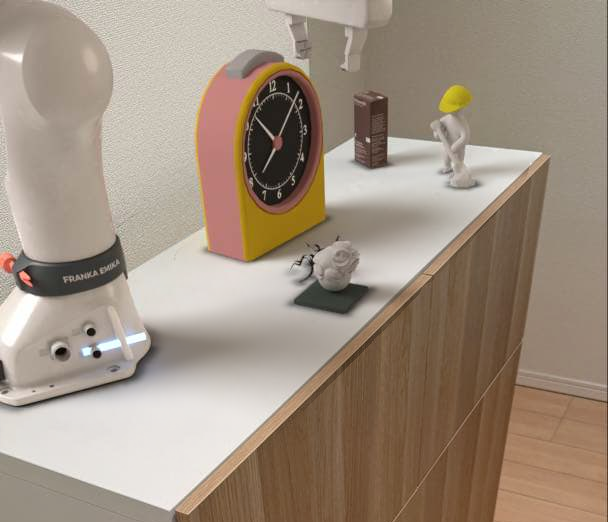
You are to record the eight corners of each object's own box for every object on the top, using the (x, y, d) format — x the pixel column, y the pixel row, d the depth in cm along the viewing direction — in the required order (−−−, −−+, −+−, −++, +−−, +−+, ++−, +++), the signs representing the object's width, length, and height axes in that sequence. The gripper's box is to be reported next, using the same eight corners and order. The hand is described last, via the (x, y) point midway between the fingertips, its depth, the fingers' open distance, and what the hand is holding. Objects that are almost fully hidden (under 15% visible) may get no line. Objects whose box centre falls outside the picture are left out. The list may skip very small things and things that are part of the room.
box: (352, 161, 154) (352, 93, 146) (371, 157, 155) (372, 89, 147) (369, 169, 150) (369, 100, 142) (388, 164, 152) (390, 96, 143)
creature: (288, 290, 115) (339, 281, 113) (277, 256, 112) (330, 246, 109) (298, 268, 121) (347, 259, 118) (289, 234, 118) (339, 224, 115)
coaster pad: (343, 314, 107) (343, 309, 106) (293, 303, 110) (293, 299, 109) (368, 290, 112) (368, 286, 111) (320, 280, 115) (319, 276, 114)
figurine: (418, 183, 143) (423, 93, 133) (435, 168, 149) (440, 79, 139) (471, 189, 139) (480, 96, 129) (486, 173, 145) (495, 83, 135)
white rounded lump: (352, 302, 108) (352, 253, 103) (306, 295, 110) (303, 247, 105) (366, 284, 112) (366, 236, 107) (321, 278, 114) (320, 230, 109)
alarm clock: (248, 262, 121) (229, 70, 103) (206, 250, 125) (180, 63, 107) (327, 218, 133) (322, 39, 115) (286, 208, 137) (275, 34, 119)
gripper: (409, -86, 76) (404, 73, 86) (292, -92, 89) (299, 47, 98) (359, -79, 74) (359, 84, 83) (246, -87, 87) (257, 56, 96)
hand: (325, 64), depth 91 cm, fingers open, 8 cm apart
